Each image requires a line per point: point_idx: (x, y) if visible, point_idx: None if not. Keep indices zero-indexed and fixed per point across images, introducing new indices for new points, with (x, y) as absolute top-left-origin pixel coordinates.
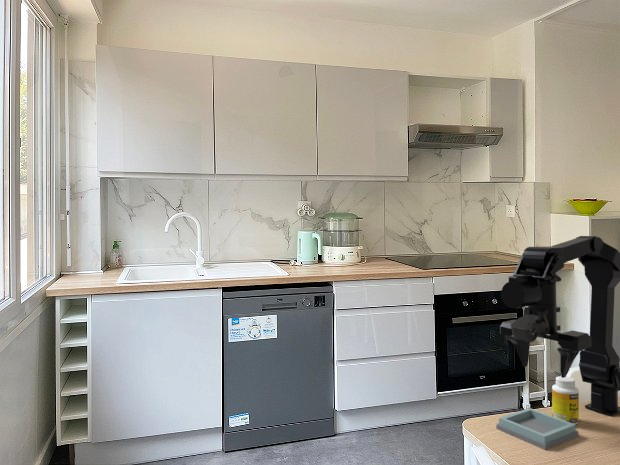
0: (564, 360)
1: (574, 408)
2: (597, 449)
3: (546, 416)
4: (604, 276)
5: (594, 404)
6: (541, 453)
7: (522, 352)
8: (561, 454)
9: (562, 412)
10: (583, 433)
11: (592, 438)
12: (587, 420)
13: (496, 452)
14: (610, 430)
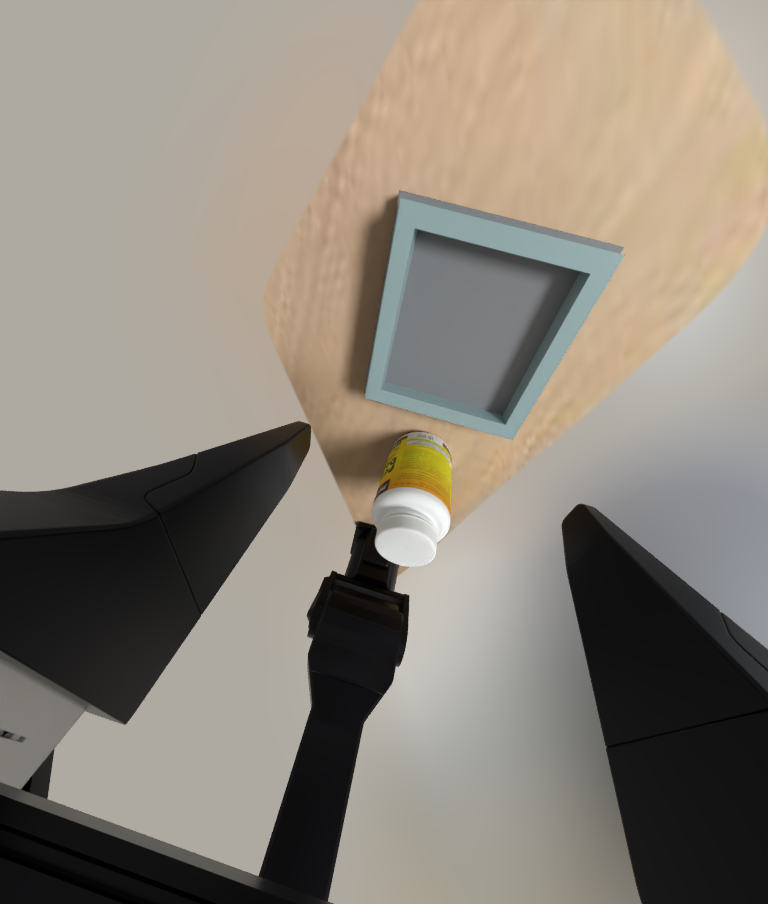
0: (157, 472)
1: (386, 468)
2: (305, 337)
3: (450, 408)
4: None
5: None
6: (403, 140)
7: (662, 613)
8: (351, 205)
9: (415, 448)
10: (365, 412)
11: (340, 396)
12: None
13: None
14: (333, 461)
